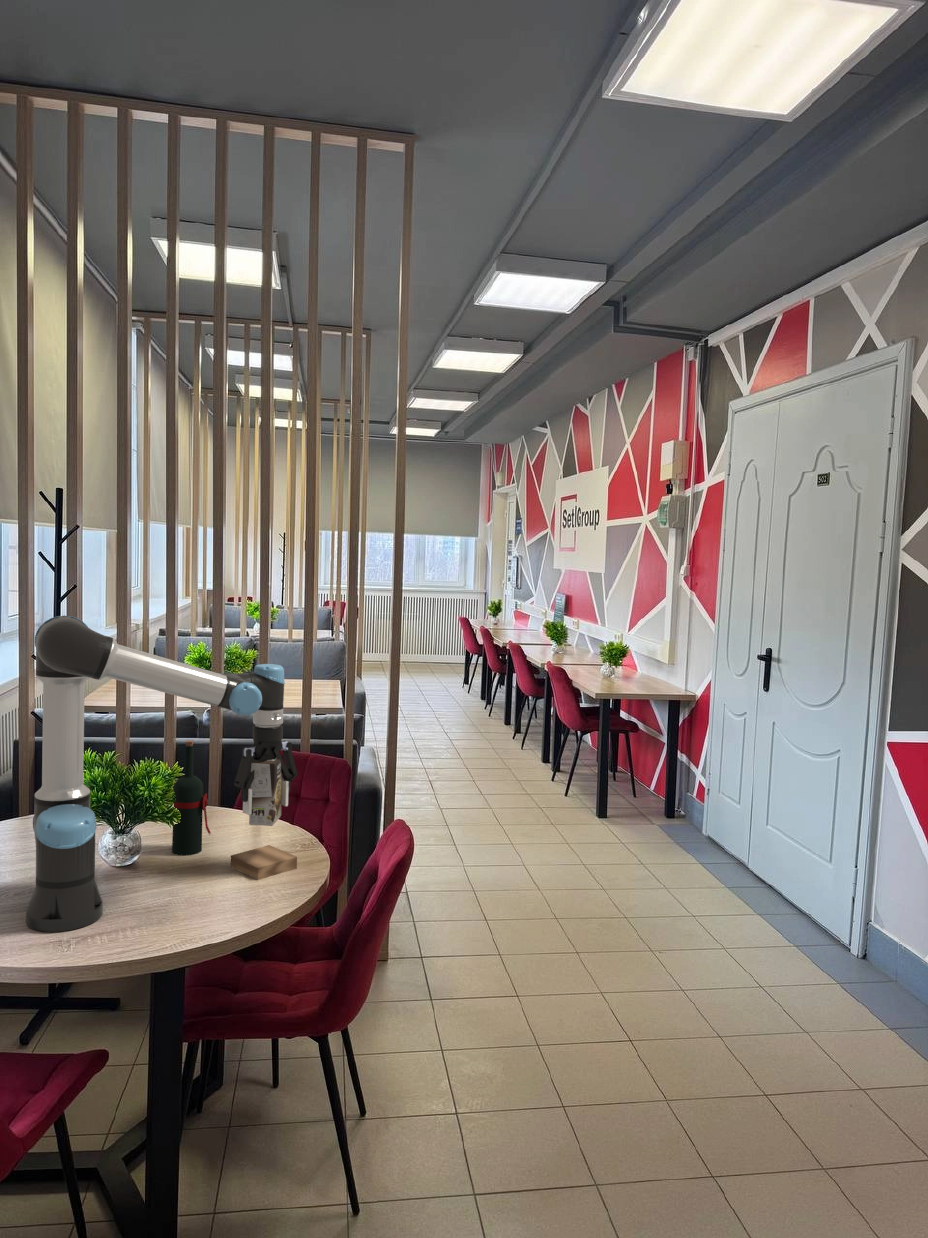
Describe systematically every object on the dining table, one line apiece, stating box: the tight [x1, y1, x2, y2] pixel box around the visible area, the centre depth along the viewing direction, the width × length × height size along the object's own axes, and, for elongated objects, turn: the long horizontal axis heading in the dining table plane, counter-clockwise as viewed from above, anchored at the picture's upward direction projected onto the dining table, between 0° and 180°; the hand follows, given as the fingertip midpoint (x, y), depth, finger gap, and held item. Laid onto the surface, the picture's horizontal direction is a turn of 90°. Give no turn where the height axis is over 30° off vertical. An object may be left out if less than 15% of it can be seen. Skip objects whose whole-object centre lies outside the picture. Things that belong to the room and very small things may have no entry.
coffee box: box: [248, 755, 284, 827], centre depth 216 cm, size 9×6×16 cm
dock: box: [230, 844, 298, 881], centre depth 217 cm, size 12×12×3 cm
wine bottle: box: [171, 740, 212, 857], centre depth 226 cm, size 8×10×30 cm
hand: (265, 809), depth 216 cm, fingers closed on coffee box, 11 cm apart
